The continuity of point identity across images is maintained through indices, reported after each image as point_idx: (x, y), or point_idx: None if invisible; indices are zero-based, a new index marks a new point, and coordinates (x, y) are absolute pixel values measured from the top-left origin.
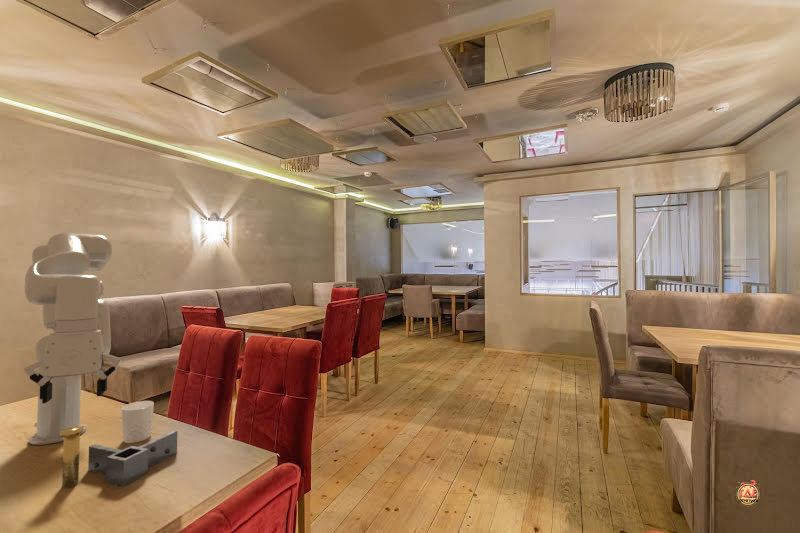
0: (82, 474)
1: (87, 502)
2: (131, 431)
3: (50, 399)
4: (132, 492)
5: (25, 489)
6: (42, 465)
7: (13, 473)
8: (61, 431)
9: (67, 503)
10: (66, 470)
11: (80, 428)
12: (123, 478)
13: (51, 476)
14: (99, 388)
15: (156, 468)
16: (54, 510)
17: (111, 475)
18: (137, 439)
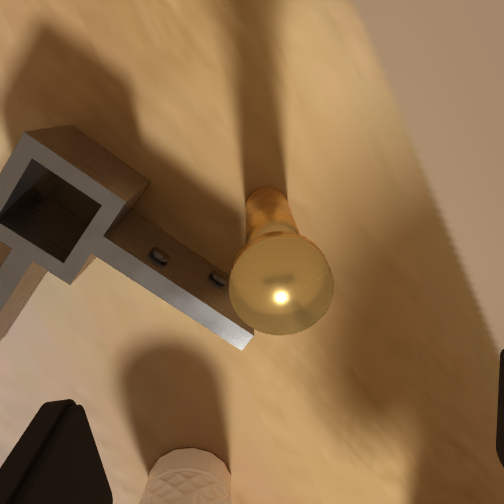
0: None
1: (147, 51)
2: (187, 481)
3: (498, 428)
4: (15, 67)
5: (397, 226)
6: (416, 376)
7: (480, 350)
8: (326, 270)
9: (215, 71)
10: (274, 201)
11: (236, 283)
12: (58, 127)
13: (355, 290)
14: (11, 463)
15: None
16: (236, 35)
17: (117, 167)
18: (173, 456)
